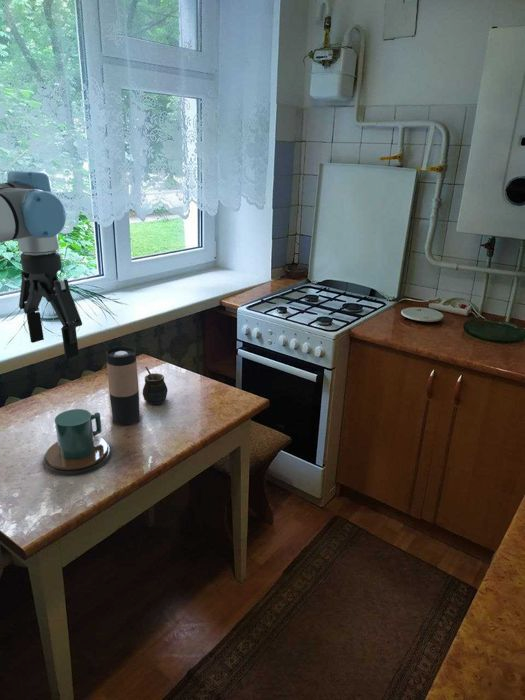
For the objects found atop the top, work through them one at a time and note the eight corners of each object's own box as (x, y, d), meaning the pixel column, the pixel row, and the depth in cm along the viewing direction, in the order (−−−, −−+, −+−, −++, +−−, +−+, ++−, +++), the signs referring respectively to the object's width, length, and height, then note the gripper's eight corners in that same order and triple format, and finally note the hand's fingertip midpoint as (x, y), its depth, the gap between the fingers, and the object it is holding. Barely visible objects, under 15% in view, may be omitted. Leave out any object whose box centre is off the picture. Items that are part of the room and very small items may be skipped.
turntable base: (67, 483, 110) (67, 480, 109) (31, 458, 118) (31, 455, 118) (123, 454, 121) (122, 451, 120) (86, 433, 129) (86, 430, 129)
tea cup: (67, 478, 110) (62, 440, 106) (34, 454, 118) (28, 418, 114) (119, 451, 120) (116, 415, 117) (85, 431, 128) (81, 397, 125)
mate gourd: (156, 409, 142) (154, 378, 138) (136, 402, 146) (134, 371, 142) (172, 400, 148) (171, 369, 144) (154, 393, 152) (152, 363, 148)
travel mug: (107, 417, 137) (100, 350, 130) (131, 409, 142) (126, 344, 134) (120, 428, 132) (114, 359, 124) (145, 419, 137) (141, 352, 129)
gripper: (92, 257, 96) (103, 357, 104) (25, 241, 110) (39, 330, 118) (57, 264, 91) (71, 369, 99) (-9, 245, 105) (8, 339, 113)
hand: (54, 348), depth 108 cm, fingers open, 13 cm apart
